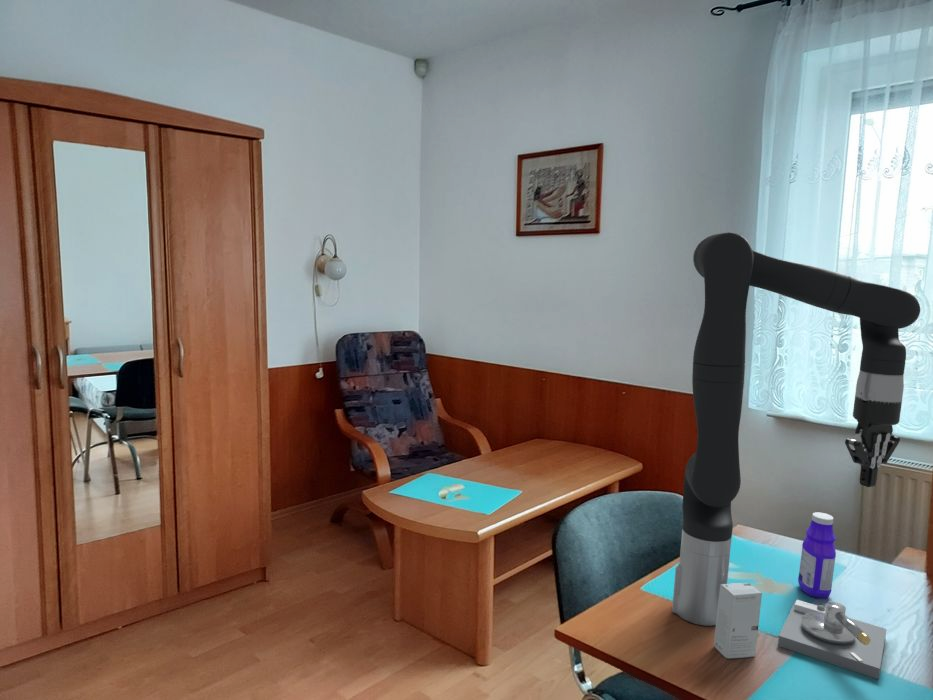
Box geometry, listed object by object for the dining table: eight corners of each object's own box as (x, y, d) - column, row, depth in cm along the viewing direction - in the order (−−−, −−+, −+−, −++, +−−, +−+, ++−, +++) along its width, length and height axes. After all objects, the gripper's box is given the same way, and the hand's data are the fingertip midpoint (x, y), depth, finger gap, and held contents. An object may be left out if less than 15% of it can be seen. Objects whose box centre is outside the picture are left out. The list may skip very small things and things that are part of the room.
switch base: (777, 645, 124) (780, 625, 124) (793, 610, 137) (795, 592, 137) (878, 679, 115) (881, 657, 115) (885, 638, 128) (887, 619, 128)
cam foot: (792, 617, 130) (795, 589, 129) (838, 618, 130) (841, 590, 130) (838, 667, 114) (842, 635, 114) (890, 668, 114) (894, 637, 114)
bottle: (835, 600, 142) (845, 522, 140) (809, 599, 142) (818, 521, 140) (818, 584, 149) (827, 509, 147) (792, 583, 149) (801, 508, 147)
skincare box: (726, 660, 119) (733, 595, 117) (712, 645, 123) (718, 583, 122) (757, 656, 121) (764, 593, 119) (741, 642, 125) (748, 581, 123)
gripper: (881, 390, 131) (871, 476, 134) (836, 394, 126) (825, 483, 128) (921, 398, 125) (909, 488, 127) (874, 402, 119) (862, 496, 121)
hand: (867, 485), depth 128 cm, fingers closed
